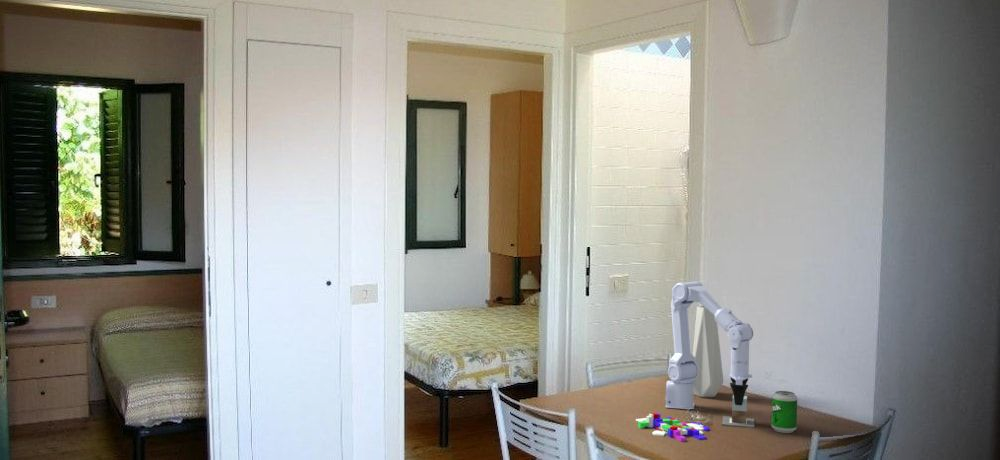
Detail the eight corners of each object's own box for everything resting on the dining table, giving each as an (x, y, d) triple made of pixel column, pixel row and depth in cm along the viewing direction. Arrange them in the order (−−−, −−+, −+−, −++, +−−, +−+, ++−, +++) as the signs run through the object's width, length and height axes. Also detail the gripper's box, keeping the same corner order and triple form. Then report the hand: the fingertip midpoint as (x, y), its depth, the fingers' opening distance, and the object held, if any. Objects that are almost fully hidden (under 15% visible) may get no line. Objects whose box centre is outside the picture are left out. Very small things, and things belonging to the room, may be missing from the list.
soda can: (796, 428, 273) (797, 391, 272) (796, 434, 265) (797, 396, 265) (771, 426, 275) (772, 389, 274) (771, 432, 268) (772, 394, 267)
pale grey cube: (732, 410, 277) (732, 398, 277) (732, 406, 281) (732, 394, 281) (746, 411, 276) (746, 399, 276) (746, 408, 280) (746, 396, 280)
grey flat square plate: (722, 425, 276) (722, 423, 276) (722, 417, 285) (722, 416, 285) (754, 427, 273) (754, 426, 273) (754, 419, 282) (754, 418, 282)
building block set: (725, 438, 263) (726, 424, 262) (667, 445, 256) (667, 430, 256) (682, 417, 286) (682, 404, 286) (627, 423, 279) (627, 409, 279)
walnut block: (731, 422, 277) (732, 410, 277) (731, 418, 282) (732, 407, 281) (746, 423, 276) (746, 411, 276) (746, 420, 280) (746, 408, 280)
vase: (726, 394, 317) (728, 306, 316) (716, 400, 308) (718, 309, 306) (695, 389, 324) (696, 303, 322) (684, 395, 314) (686, 307, 313)
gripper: (752, 366, 270) (751, 408, 271) (752, 357, 284) (751, 397, 284) (729, 364, 272) (728, 406, 272) (730, 356, 286) (729, 396, 286)
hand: (738, 402), depth 279 cm, fingers open, 7 cm apart
